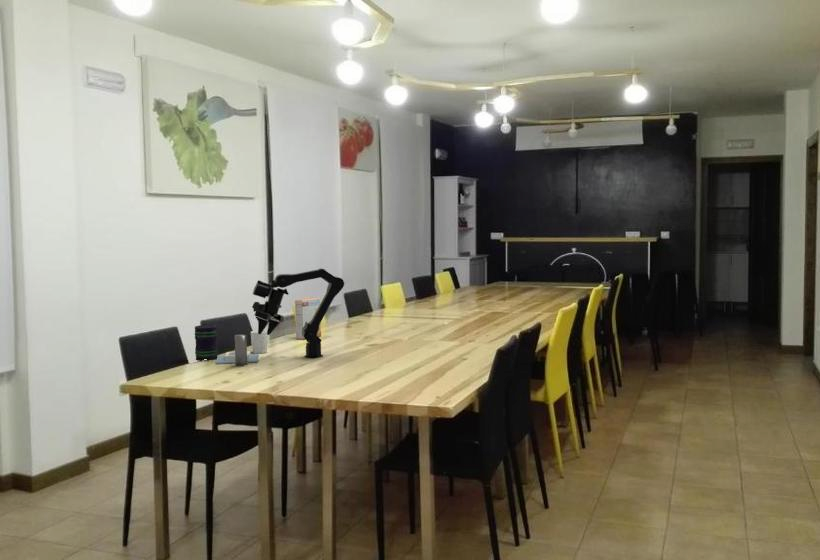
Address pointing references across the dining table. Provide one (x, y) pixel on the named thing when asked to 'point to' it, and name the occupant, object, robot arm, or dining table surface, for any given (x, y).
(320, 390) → the dining table surface
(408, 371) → the dining table surface
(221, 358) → the blue square board
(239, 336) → the shaft
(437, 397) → the dining table surface
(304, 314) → the cracker box
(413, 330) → the dining table surface
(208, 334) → the storage jar
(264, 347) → the white cup
